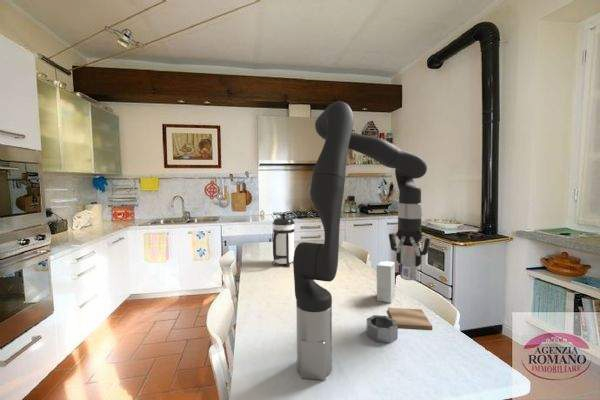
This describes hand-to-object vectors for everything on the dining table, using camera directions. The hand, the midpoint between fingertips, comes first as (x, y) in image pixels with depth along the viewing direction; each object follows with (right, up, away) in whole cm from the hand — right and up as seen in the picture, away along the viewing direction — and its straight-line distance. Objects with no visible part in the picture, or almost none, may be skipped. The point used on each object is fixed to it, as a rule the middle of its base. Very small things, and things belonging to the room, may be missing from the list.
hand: (408, 264), depth 97 cm
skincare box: (-2, -19, +19) cm, 27 cm away
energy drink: (0, -5, +1) cm, 5 cm away
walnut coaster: (0, -20, +1) cm, 20 cm away
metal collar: (-12, -21, -8) cm, 25 cm away
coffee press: (-47, -16, +66) cm, 83 cm away
